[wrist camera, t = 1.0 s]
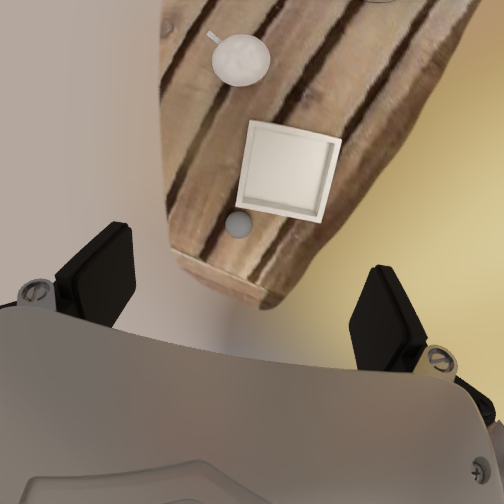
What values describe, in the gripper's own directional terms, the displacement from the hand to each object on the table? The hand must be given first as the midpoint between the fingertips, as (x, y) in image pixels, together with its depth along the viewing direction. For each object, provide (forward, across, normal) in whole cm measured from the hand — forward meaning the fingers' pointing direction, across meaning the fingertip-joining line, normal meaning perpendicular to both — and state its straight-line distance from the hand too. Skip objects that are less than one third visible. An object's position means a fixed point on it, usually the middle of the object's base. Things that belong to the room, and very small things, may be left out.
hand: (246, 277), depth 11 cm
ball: (+22, +2, +7) cm, 24 cm away
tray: (+22, -2, 0) cm, 23 cm away
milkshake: (+23, +4, -10) cm, 25 cm away
